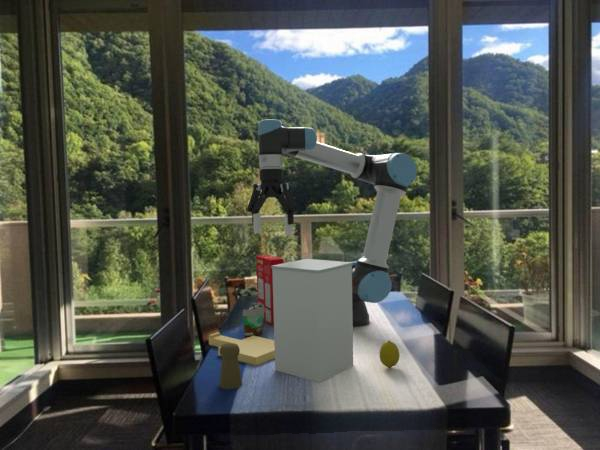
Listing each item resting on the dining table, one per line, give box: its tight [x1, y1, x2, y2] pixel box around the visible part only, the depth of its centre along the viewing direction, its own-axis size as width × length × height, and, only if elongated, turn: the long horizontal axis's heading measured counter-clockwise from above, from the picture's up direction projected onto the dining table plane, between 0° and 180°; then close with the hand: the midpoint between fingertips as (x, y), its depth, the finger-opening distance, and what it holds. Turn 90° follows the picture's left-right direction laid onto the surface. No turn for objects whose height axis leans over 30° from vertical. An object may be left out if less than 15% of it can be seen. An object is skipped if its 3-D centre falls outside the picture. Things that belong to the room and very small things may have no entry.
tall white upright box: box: [271, 258, 354, 383], centre depth 150 cm, size 16×16×30 cm
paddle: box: [208, 331, 275, 366], centre depth 169 cm, size 27×16×3 cm, turn 52°
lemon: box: [379, 340, 400, 369], centre depth 149 cm, size 6×6×8 cm
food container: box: [242, 302, 265, 338], centre depth 187 cm, size 12×6×10 cm, turn 168°
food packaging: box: [255, 254, 285, 327], centre depth 204 cm, size 15×5×25 cm, turn 26°
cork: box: [219, 343, 243, 390], centre depth 139 cm, size 6×6×11 cm
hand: (272, 234), depth 171 cm, fingers open, 13 cm apart
